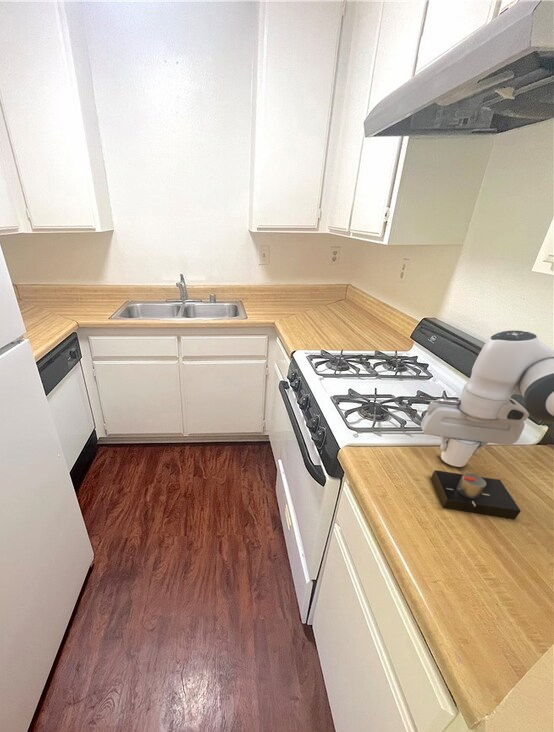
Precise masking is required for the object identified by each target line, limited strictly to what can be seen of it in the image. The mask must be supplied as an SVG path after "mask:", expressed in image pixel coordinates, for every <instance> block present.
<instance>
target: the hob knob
mask: <svg viewBox="0 0 554 732" xmlns="http://www.w3.org/2000/svg"><path fill="white" fill-rule="evenodd" d="M462 474H463V473H462ZM481 477H482V476H480V475H478V474H474V473H471V472H467V473H464V474H463V476H462V478H461V479H460V481H459V483H458V485H457V487H456V490H457V492H458V493H459V494H460V495H462V496H464V497H466V498H469V499H477V498H479V496H480V495H481V493H482V491H483V489H484V488H485V486H486V481H485V480H484V479H483V478H481Z"/></svg>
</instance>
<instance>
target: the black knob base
mask: <svg viewBox="0 0 554 732" xmlns="http://www.w3.org/2000/svg"><path fill="white" fill-rule="evenodd" d="M462 476H463V473H457V472H450V471H443V470H436V469H434V471H433V473H432V475H431V477H430V480H431V483H432V485H433V488H434V490H435V493H436V495H437V498H438V500H439V502H440V505H441V507H442V509H446V510H451V511H456V512H457V511H458V512H463V513H468V514H469V513H470V514H476V515H483V516H488V517H494V518H500V519H508V520H512V521H514V520H515V521H516V518H518V516H519V515H520V513H521V512H522V510H521V509H520V507H519V506H518V504H517V503H516V501H515V500H514V498H513V497H512V495H511V494H510V492H509V491H508V489H507V488H506V487H505V484H504V483H503V482H502V481H501V479H498V478H490V477H485V476H480V477H481V478H483V479H484V480H485V481H486V486H485V488H484V489H483V491H482V493H481V495H480V496H479V498H477V499H469V498H466V497H464V496H462V495H460V494H459V493H458V492H457V490H456V487H457V485H458V483H459V481H460V479H461V478H462Z"/></svg>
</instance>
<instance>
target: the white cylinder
mask: <svg viewBox="0 0 554 732" xmlns="http://www.w3.org/2000/svg"><path fill="white" fill-rule="evenodd" d="M446 444H447V446H448V447H447V450H446V451H441V454H440V459H441V460H442V461H443V462H444V463H446V464H447V465H450V466H452V467H459V468H461V467H465V466H466V464H467V463H468V462H469V460H470V459H471V457H472V456H473V455H472V454H473V453H474V451H475V450H476V448H477V447H478V446H479V444H480V441H472V440H464V439H457V438H449V440H448V441H447V440H446Z"/></svg>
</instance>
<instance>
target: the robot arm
mask: <svg viewBox="0 0 554 732" xmlns="http://www.w3.org/2000/svg"><path fill="white" fill-rule="evenodd" d="M514 395H519V396H522V397H523V401H524V404H525V407H524V406H523V405H521V404H520V403H519V402H518V401H517V400H515V399H514V398H512V396H514ZM530 416H531V417H533V418H535V420H538V421H541V422H544V423H548V424H554V349H553V348H551V347H550V346H549V345H547V344H546V343H544V342H543V341H542V340H541V339H540V338H539V337H538V336H537V334H535V333H533V332H530V331H525V330H503V331H500V332H497V333H495V334H493V335H492V336H490V337H489V338H488V339H487V341H486V342H485V344H484V345H483V346H482V348H481V349H480V351H479V354H478V356H477V357H476V359H475V362H474V364H473V366H472V369H471V374H470V377H469V379H468V380H467V381H466V382H465V384H464V386H463V388H462V390H461V392H460V394H459V397H458V399H446V398H441V397H440V398H438V399H434V400H432V401H430V402H429V404H428V406H427V409H426V413H425V414H424V416H423V418H422V419H421V422H420V428H421V431H422V432H423V433H424V435H427V436H435V437H440V441H441V444H440V446H439V449H440V451H441V452H442V451H446V450H447V447H448V446H447V444H446V440H447V441H448V440H449V438H457V439H464V440H472V441H480V444H479V446H478V447H477V448H476V450H475V451H474V453H473V454H472V456H476V455H477V453H478V452H479V451H480V450H482V449H484V448H485V447H487V446H488V444H496V445H502V446H503V445H504V446H511V445H514V444H515V443H517V442H518V440H519V439H520V437H521V435H522V433H523V431H524V429H525V422H524V421H527V419H529V417H530Z"/></svg>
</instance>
